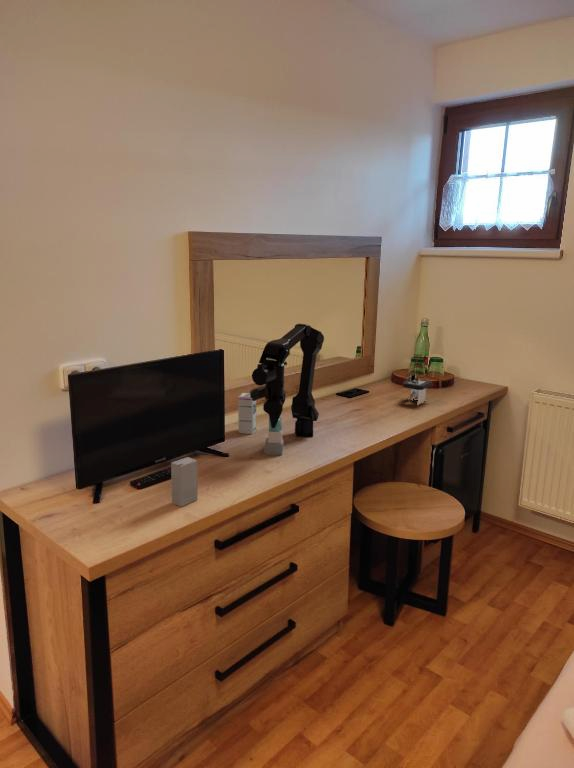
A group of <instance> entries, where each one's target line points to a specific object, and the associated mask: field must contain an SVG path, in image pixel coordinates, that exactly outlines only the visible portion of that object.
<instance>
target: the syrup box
mask: <svg viewBox="0 0 574 768" xmlns="http://www.w3.org/2000/svg"><path fill="white" fill-rule="evenodd" d="M250 396H251V395H250V392H242V393H241V394H240V395H238V397H237V398H238V399H237V400H238V401H237V403H238V404H237V405H238V409H237V410H238V417H237V418H238V419H237V420H238V423H237V424H238V433H239V434H247V435H253V434H254V433H255V432H256V431H257V400H256V401H253V400H252V398H251V397H250Z"/></svg>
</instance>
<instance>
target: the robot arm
mask: <svg viewBox="0 0 574 768" xmlns="http://www.w3.org/2000/svg"><path fill="white" fill-rule="evenodd" d="M324 341H325V336H324V334H322V331H320V330H318V329H316V328H313V327H312V326H311V325H309V324H305V323H296V324H295V325H294V327H293V328H292V329H290V330H289V331H288V332H286V333H285V334H284V335H283V336H282V337H281V338H278V339H277V338H276V339H272V340H271V341H268V342H267V343H266V345H265V346H264V348H263V351H262V354H261V355H260V358H259V360H258V364H257V366H256V367H257V368H255V369H254V370H253V371H252V374H251V378H252V381H253V383H254V384H255V385H256V386H258V387H255V388H252V389H250V391H249V393H250V395H251V396H250V397H251V398H252V400H253V401H256V402H257V400H260V399H263V398H264V399H265V400H264V401H263V405H262V410H263V412H265V413H266V414H268V417H269V418H270V422H271V427H272V428H275V427H276V424H277V422H278V420H279V417H280V418H281V416H282V413H283V409H284V404H285V402H286V398H287V397H286V395H287V391H285V366H287V365H288V362H287V361H286V360H287V358H288V357H289V356H290V352H291V349H292V348H293V347H295V346H296V345H297V344H299V347H300V349H301V351H302V361H301V371H300V378H299V386H298V392H297V393H296V395H295V396H293V397H292V398H291V399H292V401H291V406H290V409H291V416H292V419H296V420H295V421H294V433H295V436H296V437H308V438H313V437H314V422H317V421H318V420H319V414H320V413H319V412H318V410H317V408H316V407H315V406H316V401H315V398H314V396H313V387H314V386H313V384H314V379H315V378H314V377H315V376H314V375H315V370H316V369H315V368H316V362H317V361H316V360H317V355H318V354H319V352H320V351H321V350H322V348H323V344H324ZM269 418H268V419H269Z"/></svg>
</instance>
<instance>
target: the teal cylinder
mask: <svg viewBox="0 0 574 768" xmlns="http://www.w3.org/2000/svg"><path fill="white" fill-rule="evenodd" d="M282 423H283V418H282V417H281V416H280V417H279V420H278V422H277V424H276V427H275V428H272V427H271V422H270V418H268V431H271V432H280V431H282V432H283V428H282V427H283V424H282Z"/></svg>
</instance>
